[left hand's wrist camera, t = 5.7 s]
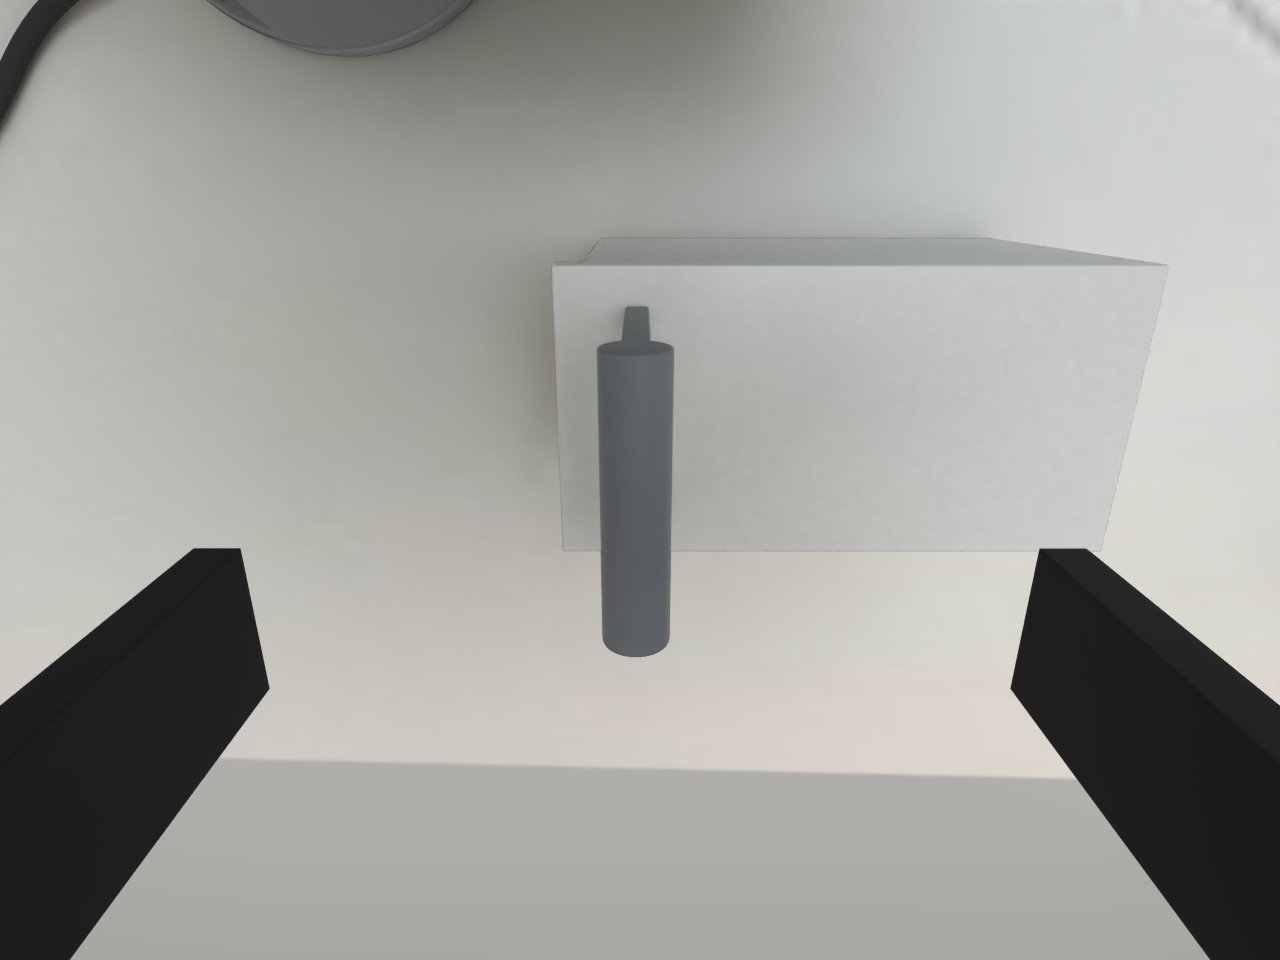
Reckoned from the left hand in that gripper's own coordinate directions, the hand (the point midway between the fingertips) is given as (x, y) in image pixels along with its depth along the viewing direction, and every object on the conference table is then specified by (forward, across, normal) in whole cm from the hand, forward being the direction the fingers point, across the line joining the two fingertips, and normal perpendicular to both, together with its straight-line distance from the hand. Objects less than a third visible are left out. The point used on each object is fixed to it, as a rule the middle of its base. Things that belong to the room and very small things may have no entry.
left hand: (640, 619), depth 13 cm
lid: (+13, -6, 0) cm, 14 cm away
